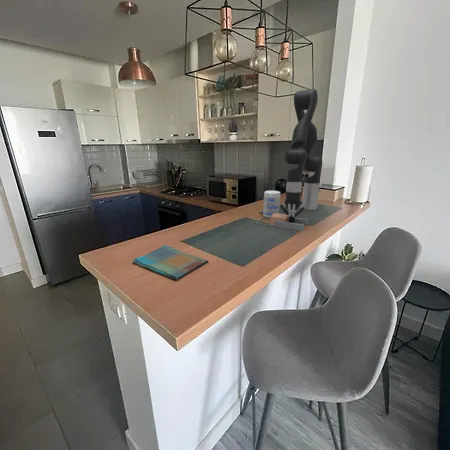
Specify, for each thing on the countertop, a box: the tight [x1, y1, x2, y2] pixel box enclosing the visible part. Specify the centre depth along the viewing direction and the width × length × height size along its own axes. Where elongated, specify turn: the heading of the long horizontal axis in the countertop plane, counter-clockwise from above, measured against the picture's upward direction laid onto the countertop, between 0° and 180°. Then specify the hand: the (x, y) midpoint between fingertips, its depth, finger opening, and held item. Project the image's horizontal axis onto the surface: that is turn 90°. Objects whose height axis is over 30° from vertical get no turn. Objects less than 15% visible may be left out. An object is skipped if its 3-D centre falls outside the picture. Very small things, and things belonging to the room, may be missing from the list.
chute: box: [273, 217, 309, 232], centre depth 132 cm, size 11×15×3 cm
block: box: [269, 213, 289, 226], centre depth 134 cm, size 7×8×5 cm
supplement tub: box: [262, 190, 281, 219], centre depth 148 cm, size 10×10×15 cm
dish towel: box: [132, 245, 209, 282], centre depth 93 cm, size 17×23×2 cm
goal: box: [255, 217, 274, 227], centre depth 138 cm, size 12×10×1 cm
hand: (291, 222), depth 131 cm, fingers closed
